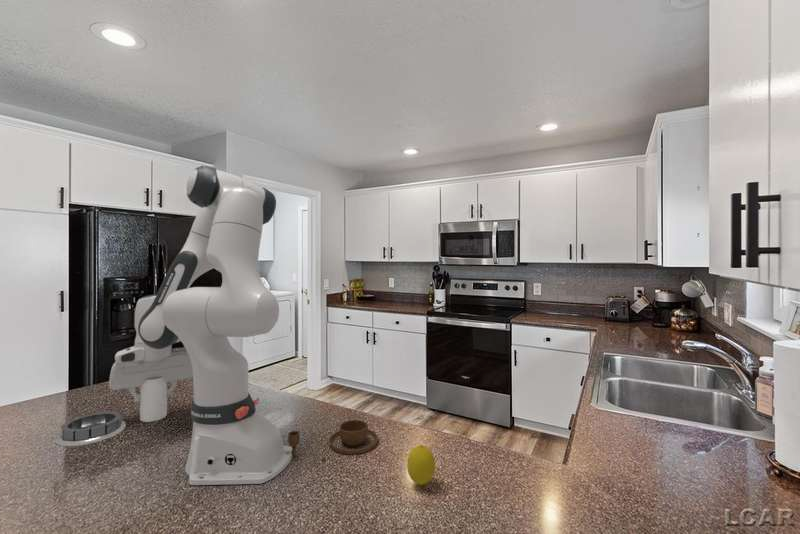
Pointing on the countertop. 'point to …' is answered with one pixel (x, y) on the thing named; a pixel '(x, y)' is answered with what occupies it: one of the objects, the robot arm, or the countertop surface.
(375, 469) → the countertop surface
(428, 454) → the lemon
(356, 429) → the place setting
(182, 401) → the countertop surface
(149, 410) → the can
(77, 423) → the notched rim bowl
